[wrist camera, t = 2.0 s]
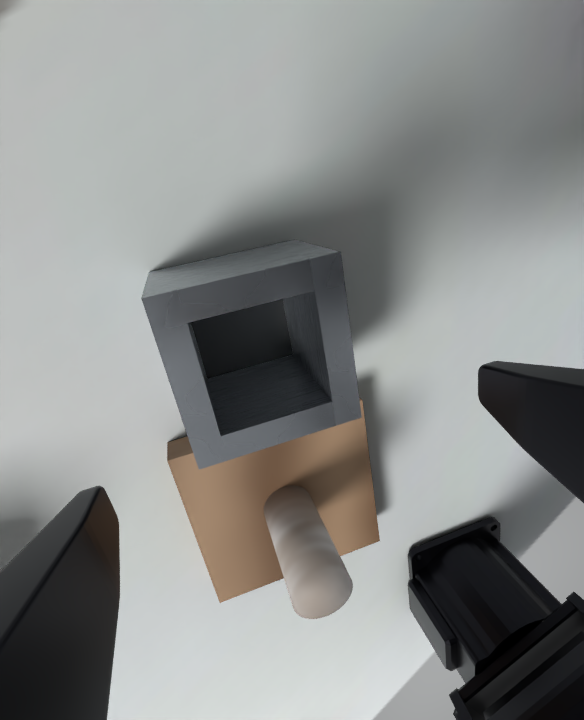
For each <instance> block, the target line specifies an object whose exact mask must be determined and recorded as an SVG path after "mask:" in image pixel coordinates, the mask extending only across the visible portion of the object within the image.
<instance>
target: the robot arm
mask: <svg viewBox="0 0 584 720" xmlns="http://www.w3.org/2000/svg"><path fill="white" fill-rule="evenodd" d="M478 396H479V400H480V402H481V404H482V405H483V406H484V407H485V408H486V410H487V411H488V412H489V413H490V414H491V415H492V416H493V417H494V418H495V419H496V420H497V421H498V423H499V424H500V425H501V426H502V427H503V428H504V429H505V430H506V431H507V432H508V433H509V434H510V435H511V437H512V438H513V439H514V440H515V441H516V442H517V443H518V444H519V445H520V446H521V447H522V448H523V449H524V450H525V451H526V452H527V453H528V454H529V455H530V456H531V457H533V458H534V459H535V460H536V461H537V462H538V463H539V464H540V465H542V466H543V467H544V468H545V469H546V470H547V471H548V472H549V473H551V474H552V475H553V476H554V477H555V478H556V479H557V480H558V481H559V482H561V483H562V484H563V485H564V486H565V487H566V488H567V489H568V490H570V491H571V492H572V493H573V494H574V495H575V496H576V497H577V498H578V499H580V500H581V501H582V502H583V503H584V369H575V368H565V367H554V366H544V365H533V364H523V363H513V362H502V361H494V362H490V363H487V364H484V365H482V366H481V367H480V368H479V371H478ZM408 564H409V576H410V580H409V582H408V593H409V604H410V610H411V612H412V613H413V615H414V617H415V619H416V620H417V622H418V623H419V625H420V627H421V628H422V630H423V632H424V633H425V635H426V637H427V638H428V640H429V642H430V643H431V645H432V647H433V648H434V650H435V652H436V653H437V655H438V657H439V658H440V660H441V662H442V663H443V665H444V666H445V668H446V669H448V670H450V671H453V670H455V669H457V671H458V672H459V674H460V675H461V676H462V678H463V680H464V682H465V683H466V684H465V685H463V686H462V687H461V688H460V689H455V690H454V691H453V692H451V694H449V696H450V698H451V700H452V702H453V704H454V707H455V710H454V713H453V714H454V716H455V718H456V720H584V600H583V599H582V598H581V597H580V596H578V595H577V594H576V593H575V592H573V593H572V594H571V595H569V596H568V597H567V598H566V599H567V601H565V602H564V603H563V604H561V603H560V602H559V601H558V600H557V599H556V598H555V597H554V596H553V595H552V594H551V593H550V592H549V591H548V590H547V589H546V588H545V587H544V586H543V585H542V584H541V583H540V582H539V581H538V580H537V579H536V578H535V577H534V576H533V575H532V574H531V573H530V572H529V571H528V570H527V569H526V568H525V567H524V566H523V565H522V564H521V563H520V562H519V560H518V559H517V558H516V557H515V556H514V555H513V554H512V553H511V552H510V551H509V550H508V549H507V548H506V547H505V546H504V545H503V544H502V543H501V542H500V523H499V522H498V521H497V520H496V519H495V518H494V517H491V518H488V519H485V520H483V521H480V522H478V523H475V524H473V525H470V526H468V527H465V528H463V529H460V530H458V531H455V532H453V533H450V534H447V535H445V536H442V537H440V538H437V539H435V540H432V541H430V542H427V543H425V544H422V545H420V546H417V547H415V548H413V549H411V550H410V551H409V553H408ZM119 598H120V557H119V522H118V518H117V515H116V512H115V510H114V508H113V506H112V504H111V502H110V499H109V497H108V495H107V493H106V491H105V489H104V488H103V487H102V486H96V487H93V488H89V489H86V490H83V491H81V492H79V493H78V494H77V495H76V496H75V497H74V498H73V499H72V500H71V501H70V502H69V503H68V504H67V505H66V506H65V507H64V508H63V509H62V510H61V511H60V512H59V513H58V514H57V515H56V516H55V517H54V518H53V519H52V520H51V521H50V522H49V523H48V524H47V525H46V526H45V527H44V528H43V529H42V530H41V532H40V533H39V534H38V535H37V536H36V537H35V538H34V539H33V540H32V541H31V542H30V543H29V544H28V545H27V546H26V547H25V548H24V549H23V550H22V551H21V552H20V553H19V554H18V555H17V556H16V557H15V558H14V559H13V560H12V561H11V562H10V563H9V564H8V565H7V566H6V567H5V568H4V569H3V570H2V571H1V572H0V720H107V713H108V704H109V694H110V685H111V676H112V666H113V657H114V648H115V638H116V629H117V620H118V610H119Z"/></svg>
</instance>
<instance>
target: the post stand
mask: <svg viewBox="0 0 584 720" xmlns="http://www.w3.org/2000/svg"><path fill="white" fill-rule="evenodd" d="M359 400H360V408H361V416H362V418H359V419H356V420H352V421H349V422H346V423H343V424H340V425H337V426H334V427H331V428H328V429H324V430H321V431H318V432H315V433H312V434H309V435H306V436H303V437H300V438H296V439H293V440H290V441H287V442H284V443H281V444H278V445H275V446H271V447H268V448H265V449H262V450H259V451H256V452H253V453H250V454H247V455H243V456H240V457H237V458H234V459H231V460H228V461H225V462H222V463H219V464H215V465H212V466H209V467H206V468H203V469H200V470H199V469H198V466H197V463H196V460H195V457H194V454H193V451H192V448H191V445H190V442H189V439H188V436H187V437H183V438H180V439H177V440H173V441H170V442H168V447H167V461H168V464H169V466H170V469H171V472H172V474H173V477H174V480H175V483H176V485H177V488H178V491H179V493H180V496H181V499H182V502H183V504H184V507H185V510H186V512H187V515H188V518H189V520H190V523H191V526H192V529H193V531H194V534H195V537H196V539H197V542H198V545H199V548H200V550H201V553H202V556H203V558H204V561H205V564H206V566H207V569H208V572H209V575H210V577H211V580H212V583H213V585H214V588H215V591H216V594H217V596H218V599H219V602H220V603H221V602H223V601H226V600H228V599H231V598H233V597H236V596H239V595H241V594H244V593H246V592H249V591H252V590H254V589H257V588H259V587H262V586H264V585H267V584H270V583H272V582H275V581H277V580H280V579H283V578H284V580H285V583H286V586H287V589H288V593H289V596H290V599H291V602H292V605H293V608H294V610H295V612H296V613H297V614H298V615H299V616H301V617H303V618H308V619H317V618H322V617H325V616H328V615H330V614H332V613H334V612H335V611H337V610H338V609H340V608H341V607H342V606H343V605H344V604H345V603H346V601H347V600H348V599H349V597H350V595H351V592H352V588H353V583H352V580H351V578H350V576H349V574H348V572H347V570H346V568H345V565H344V563H343V561H342V559H341V557H340V556H342V555H344V554H347V553H350V552H352V551H355V550H357V549H360V548H363V547H365V546H368V545H370V544H373V543H375V542H378V541H380V539H379V531H378V523H377V515H376V507H375V499H374V491H373V482H372V474H371V466H370V458H369V450H368V442H367V434H366V426H365V418H364V410H363V402H362V399H361V398H360V397H359Z"/></svg>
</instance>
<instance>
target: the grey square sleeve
mask: <svg viewBox="0 0 584 720" xmlns="http://www.w3.org/2000/svg"><path fill="white" fill-rule="evenodd" d="M281 299H282V300H283V306H284V311H285V316H286V321H287V326H288V332H289V337H290V342H291V347H292V352H293V355H290V356H286V357H283V358H279V359H276V360H272V361H268V362H265V363H261V364H258V365H254V366H251V367H247V368H243V369H240V370H236V371H233V372H229V373H226V374H222V375H218V376H215V377H211V378H208V379H207V375H206V372H205V368H204V365H203V362H202V358H201V355H200V351H199V348H198V344H197V341H196V338H195V334H194V331H193V327H192V324H191V322H193V321H197V320H201V319H205V318H209V317H213V316H217V315H221V314H225V313H229V312H233V311H237V310H241V309H245V308H249V307H253V306H257V305H261V304H265V303H269V302H273V301H277V300H281ZM142 301H143V304H144V307H145V310H146V313H147V316H148V319H149V322H150V325H151V328H152V331H153V334H154V337H155V340H156V343H157V346H158V349H159V352H160V355H161V358H162V361H163V364H164V367H165V370H166V373H167V376H168V379H169V382H170V385H171V388H172V391H173V394H174V397H175V400H176V403H177V406H178V409H179V412H180V415H181V418H182V421H183V424H184V427H185V430H186V433H187V436H188V439H189V442H190V445H191V448H192V451H193V454H194V457H195V460H196V463H197V466H198V469H199V470H200V469H203V468H206V467H209V466H212V465H215V464H219V463H222V462H225V461H228V460H231V459H234V458H237V457H240V456H243V455H247V454H250V453H253V452H256V451H259V450H262V449H265V448H268V447H271V446H275V445H278V444H281V443H284V442H287V441H290V440H293V439H296V438H300V437H303V436H306V435H309V434H312V433H315V432H318V431H321V430H324V429H328V428H331V427H334V426H337V425H340V424H343V423H346V422H349V421H352V420H356V419H359V418H362V416H361V408H360V400H359V392H358V384H357V376H356V369H355V361H354V353H353V345H352V337H351V329H350V321H349V313H348V305H347V298H346V290H345V282H344V274H343V266H342V258H341V252H340V251H336V250H333V249H329V248H325V247H321V246H317V245H314V244H310V243H306V242H302V241H298V240H290V241H286V242H281V243H277V244H272V245H268V246H263V247H259V248H254V249H250V250H245V251H241V252H236V253H232V254H227V255H223V256H218V257H214V258H210V259H205V260H201V261H196V262H192V263H187V264H183V265H178V266H174V267H169V268H165V269H160V270H156V271H151V272H149V274H148V277H147V281H146V284H145V288H144V291H143V295H142Z"/></svg>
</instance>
